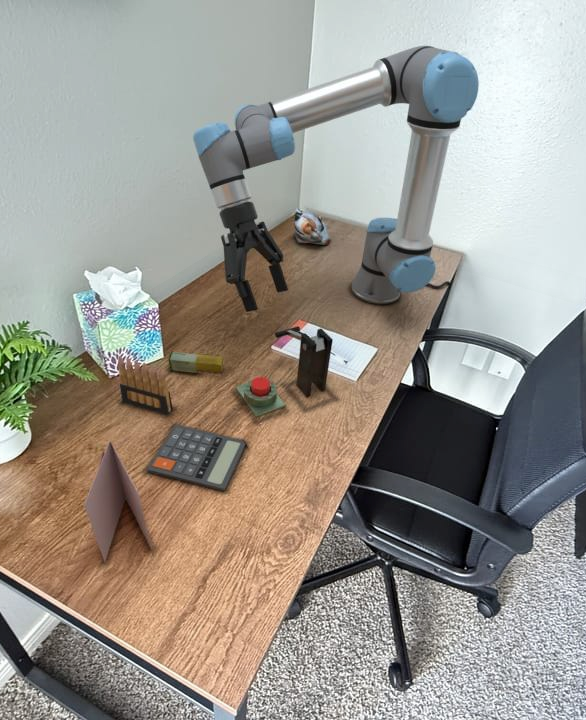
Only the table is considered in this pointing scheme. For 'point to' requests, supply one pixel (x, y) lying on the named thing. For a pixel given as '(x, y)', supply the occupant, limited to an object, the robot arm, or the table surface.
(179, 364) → the medication box
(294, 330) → the lever
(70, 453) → the table surface
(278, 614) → the table surface
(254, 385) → the button
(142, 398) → the ammunition clip
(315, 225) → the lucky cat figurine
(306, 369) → the bracket
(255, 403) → the button block
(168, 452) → the calculator
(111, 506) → the greeting card
